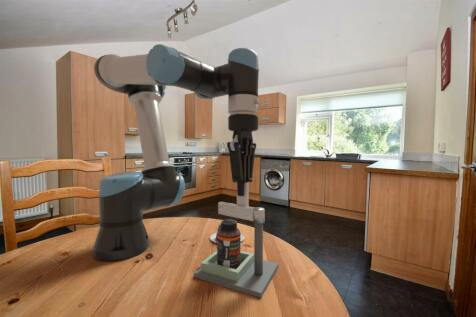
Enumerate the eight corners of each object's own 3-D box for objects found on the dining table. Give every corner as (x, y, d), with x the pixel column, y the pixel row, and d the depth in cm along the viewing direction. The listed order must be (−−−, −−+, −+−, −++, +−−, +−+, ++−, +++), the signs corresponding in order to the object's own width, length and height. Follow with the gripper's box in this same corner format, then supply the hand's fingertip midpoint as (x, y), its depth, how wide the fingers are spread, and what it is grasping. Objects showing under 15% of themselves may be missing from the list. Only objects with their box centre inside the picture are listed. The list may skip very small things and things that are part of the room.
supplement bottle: (231, 274, 51) (231, 227, 50) (212, 267, 54) (212, 222, 54) (244, 263, 56) (244, 220, 55) (226, 257, 59) (226, 216, 59)
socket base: (193, 277, 52) (193, 222, 51) (221, 254, 63) (221, 209, 63) (261, 297, 44) (261, 234, 44) (278, 267, 56) (278, 217, 56)
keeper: (266, 221, 51) (266, 208, 51) (260, 224, 49) (261, 211, 49) (222, 212, 59) (222, 201, 59) (216, 214, 57) (216, 203, 57)
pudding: (224, 230, 83) (224, 217, 83) (250, 237, 77) (251, 222, 77) (202, 241, 73) (202, 225, 73) (231, 249, 67) (231, 233, 67)
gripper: (246, 109, 47) (246, 216, 48) (265, 117, 59) (264, 203, 60) (217, 112, 50) (217, 212, 51) (240, 119, 62) (240, 200, 63)
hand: (242, 207), depth 55 cm, fingers closed
